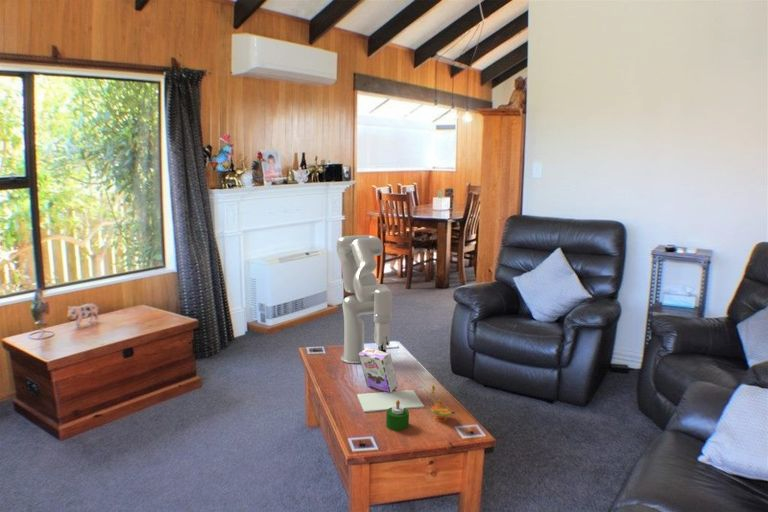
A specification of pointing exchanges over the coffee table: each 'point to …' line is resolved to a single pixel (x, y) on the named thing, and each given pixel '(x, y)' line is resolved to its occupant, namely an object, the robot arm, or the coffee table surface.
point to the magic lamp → (440, 409)
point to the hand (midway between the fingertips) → (382, 359)
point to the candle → (397, 418)
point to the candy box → (378, 369)
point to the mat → (389, 400)
